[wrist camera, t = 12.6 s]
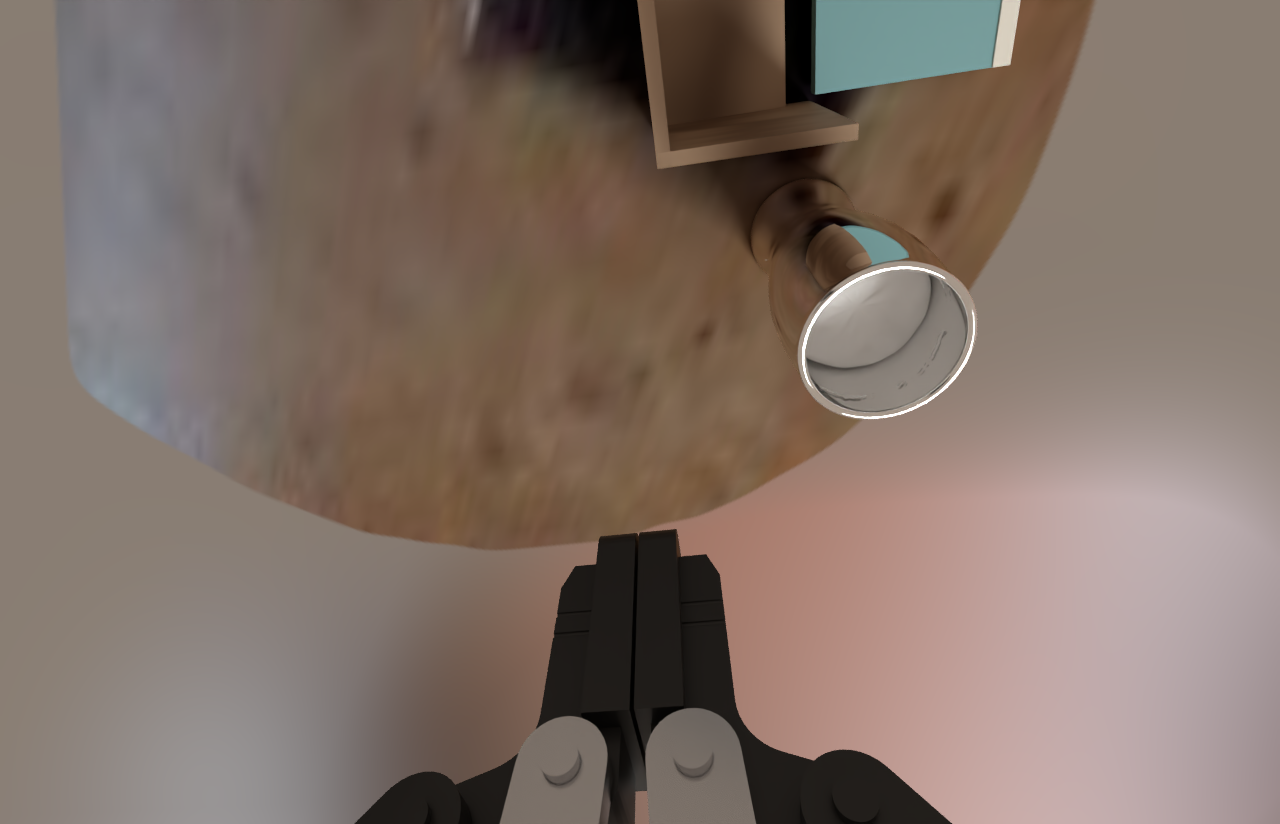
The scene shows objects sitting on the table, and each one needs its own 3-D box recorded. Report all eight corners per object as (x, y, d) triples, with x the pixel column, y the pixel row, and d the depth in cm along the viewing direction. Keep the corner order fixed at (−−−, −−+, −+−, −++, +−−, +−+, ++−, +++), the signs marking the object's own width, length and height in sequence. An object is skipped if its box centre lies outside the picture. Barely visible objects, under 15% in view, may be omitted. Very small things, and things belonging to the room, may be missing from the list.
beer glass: (795, 143, 32) (885, 216, 20) (889, 213, 34) (1026, 321, 22) (718, 250, 36) (754, 371, 23) (809, 309, 38) (887, 451, 25)
